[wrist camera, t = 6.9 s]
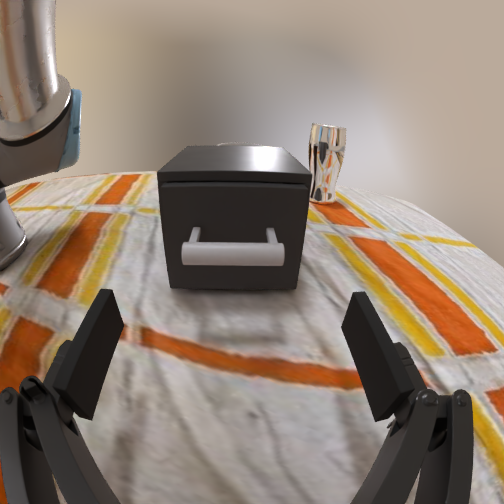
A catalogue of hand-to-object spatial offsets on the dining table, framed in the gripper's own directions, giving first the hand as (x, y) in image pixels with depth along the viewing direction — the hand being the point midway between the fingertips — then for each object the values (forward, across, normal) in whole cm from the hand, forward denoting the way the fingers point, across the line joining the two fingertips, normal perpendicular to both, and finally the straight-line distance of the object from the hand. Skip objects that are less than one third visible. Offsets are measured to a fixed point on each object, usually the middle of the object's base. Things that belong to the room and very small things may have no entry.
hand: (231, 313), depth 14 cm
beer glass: (+39, +17, -7) cm, 43 cm away
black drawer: (+14, 0, -6) cm, 15 cm away
